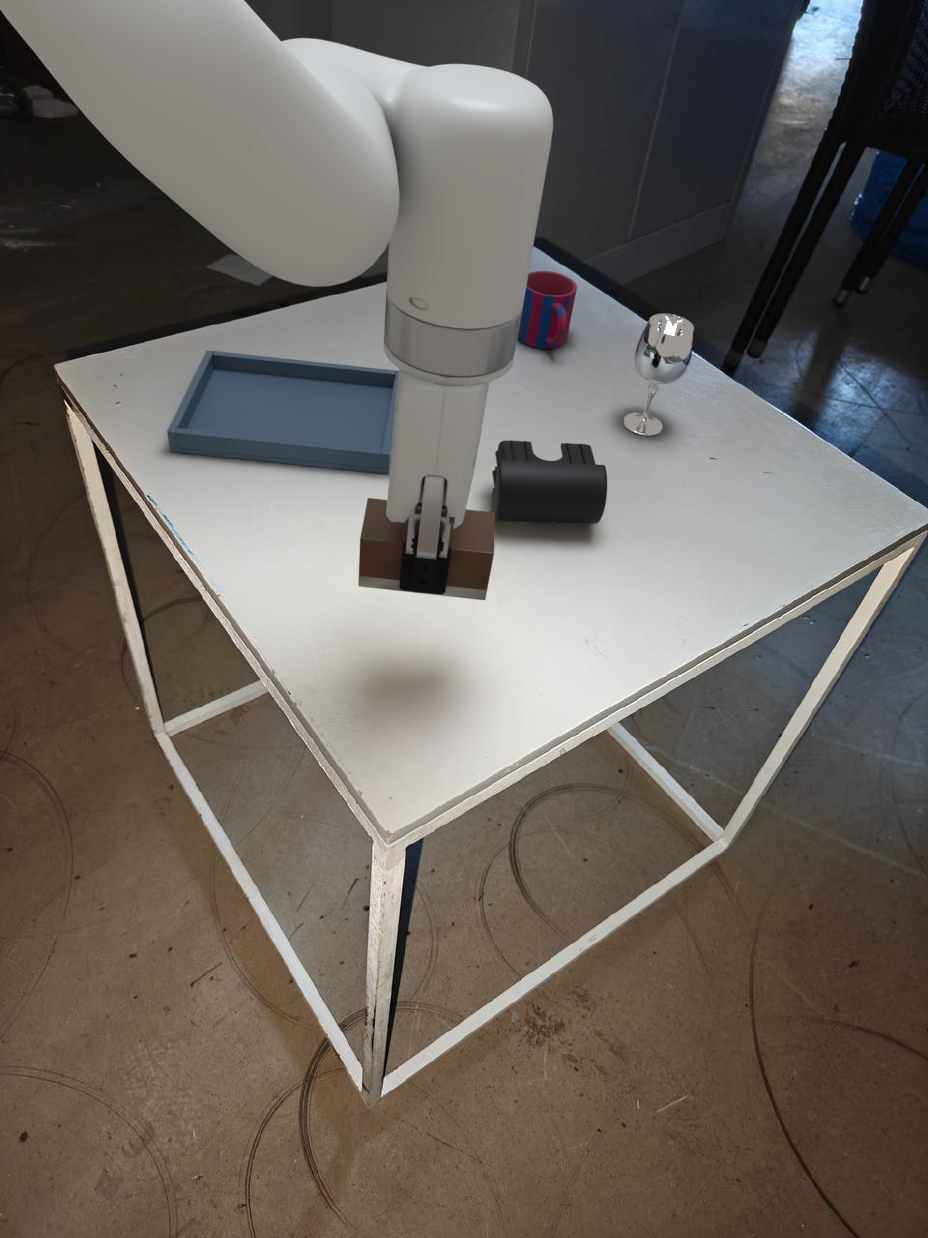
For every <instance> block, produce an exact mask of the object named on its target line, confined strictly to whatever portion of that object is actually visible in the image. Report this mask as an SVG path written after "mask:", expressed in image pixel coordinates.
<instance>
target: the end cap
mask: <svg viewBox="0 0 928 1238" xmlns="http://www.w3.org/2000/svg"><path fill="white" fill-rule="evenodd" d="M559 447H560V451H561V456H562V457H560V458H558V459H555V460H548V459H543V458H540V457H539V456H537V455H536V454H535V453H534V450H533V444H532V441H529V440H528V441H527V440H512V439H511V440H507V439H506V440H502V441H500V442H499V443H498V445H497V450H496V451H495V453H494V455H495V462H496V466H494V469H493V470H492V472H491V474H492V481H493V482H492V483H493V487H492V492H491V497H492V499H491V507H490V512H494V513H495V521H497V522H512V523H513V522H514V523H515V522H516V523H542V524H566V525H567V524H571V525H591V524H592V525H596V524H598V523H600V522H601V520H602V518H603V515H604V512H605V509H606V504H607V497H608V472H607V466H606V465H605V464H596V460H595V457H594V453H593V448H592V446H591V445H589V444H586V443H570V442H561V443H560V446H559Z"/></svg>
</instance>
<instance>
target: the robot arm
mask: <svg viewBox="0 0 928 1238" xmlns="http://www.w3.org/2000/svg"><path fill="white" fill-rule="evenodd" d="M0 11H1V13H2V14H3V15H4V17H5V18H6V20H7V21H8V22H9V23H10V25H11V26H12V27H13V28H14V29H15V31H16V32H17V33H18V34H19V36H21V38H22V39H23V41H24V42H25V43H26V44H27V45H28V46H29V47H30V49H31V50H32V51H33V52H34V53H35V55H36V56H37V57H38V59H39V60H40V61H41V62H42V64H43V65H44V67H45V68H46V69H47V70H48V71H49V73H50V74H51V75H52V77H53V78H54V79H55V81H57V83H58V84H59V86H60V87H61V88H62V89H63V90H64V92H65V94H67V95H68V97H69V98H70V99H71V100H72V101H73V103H74V104H75V106H77V108H78V109H79V110H80V111H81V112H82V114H83V115H84V116H85V117H86V118H87V119H88V120H89V122H90V123H91V124H92V125H93V126H94V127H95V128H96V129H97V130H98V131H99V133H101V135H102V136H103V137H104V138H105V139H106V140H107V141H108V142H109V143H110V144H111V146H113V147H114V148H115V149H116V150H117V151H118V152H119V153H120V154H121V155H122V156H123V158H125V159H126V160H127V161H128V162H129V163H130V164H131V165H132V166H133V167H134V168H136V170H138V171H139V172H140V173H141V174H142V175H143V176H144V177H145V178H146V179H147V180H148V181H150V182H151V183H152V184H153V185H154V186H156V187H157V188H158V189H159V190H161V191H162V192H163V193H164V194H165V195H166V196H167V197H168V198H170V200H172V201H173V202H174V203H175V204H177V205H178V206H179V207H180V208H182V209H183V210H184V211H185V212H186V213H187V214H188V215H189V216H190V217H192V218H193V219H194V220H195V221H197V222H198V223H199V224H200V225H201V226H202V227H204V229H206V230H207V231H208V232H209V233H210V234H211V235H213V236H214V237H216V238H217V240H218V241H220V242H222V243H223V244H224V245H225V246H227V248H229V249H230V250H232V251H233V252H234V253H236V255H239V256H240V257H241V258H243V259H244V260H246V261H247V262H249V263H250V264H251V265H252V266H255V267H256V268H258V269H260V270H261V271H264V272H266V273H267V274H269V275H271V276H273V277H275V278H277V279H280V280H283V281H286V282H290V283H292V284H294V285H300V286H305V287H332V286H336V285H340V284H344V283H347V282H349V281H351V280H353V279H355V278H358V277H360V276H361V275H362V274H364V273H365V272H366V271H367V270H369V269H370V268H371V267H372V266H373V265H374V264H375V263H376V262H377V261H378V259H379V258H380V257H381V255H382V254H384V252H385V250H386V249H387V247H388V257H387V258H388V259H387V275H386V292H385V312H384V331H383V351H384V354H385V355H386V357H387V359H388V360H389V361H390V362H391V364H393V365H394V367H396V368H397V369H398V371H399V374H398V381H397V390H396V399H395V410H394V423H393V435H392V449H391V463H390V469H389V476H388V477H389V478H388V488H387V499H386V500H387V510H386V515H387V517H388V518H389V520H390V521H391V522H401V523H405V521H406V520H407V519H408V517H409V521H408V532H407V542H403V549H402V560H401V572H400V584H399V587H400V589H401V590H404V591H403V592H405V591H411V592H410V593H414V592H420V593H419V594H423V593H429V594H428V595H432V594H438V595H437V596H441V594H444V593H445V591H446V584H447V577H448V570H449V563H450V556H451V547H448V546H449V538H450V530H451V525H453V529H455V528H457V527H458V526H459V525H461V524H462V523H463V519H464V515H465V510H466V509H467V506H468V500H469V496H470V493H471V487H472V482H473V477H474V473H475V468H476V463H477V457H478V452H479V446H480V442H481V436H482V430H483V423H484V417H485V412H486V406H487V399H488V393H489V387H490V382H493V381H495V380H498V379H500V378H502V377H503V376H505V375H506V374H507V373H508V372H509V370H511V369H512V366H513V364H514V361H515V355H516V348H517V343H518V339H517V338H518V332H519V326H520V320H521V315H522V308H523V303H524V297H525V291H526V286H527V280H528V274H529V273H530V267H531V262H532V261H531V260H532V256H533V251H534V250H533V248H534V243H535V237H536V231H537V226H538V221H539V216H540V209H541V205H542V198H543V193H544V186H545V180H546V176H547V174H546V173H547V171H548V170H547V169H548V164H549V158H550V152H551V147H552V139H553V132H554V116H553V110H552V106H551V104H550V100H549V99H548V97H547V95H546V94H545V93H544V92H543V90H542V89H540V87H539V86H538V85H536V84H535V83H533V82H531V81H530V80H528V79H526V78H523V77H522V76H520V75H518V74H515V73H513V72H509V71H506V70H502V69H499V68H495V67H489V66H484V65H477V64H468V63H446V64H436V65H432V66H425V65H421V64H415V63H411V62H407V61H403V60H399V59H396V58H391V57H388V56H383V55H379V54H376V53H373V52H369V51H365V50H362V49H359V48H356V47H353V46H349V45H346V44H342V43H339V42H334V41H330V40H326V39H325V40H324V39H320V38H308V37H300V38H299V37H298V38H289V39H286V40H282V41H281V40H280V39H279V37H278V36H277V35H276V34H275V33H274V32H273V31H272V30H271V29H270V27H268V25H267V24H266V23H265V21H263V20H262V18H261V17H259V15H258V14H257V13H256V12H255V11H254V10H253V9H252V8H251V6H250V5H249V3H247V1H246V0H0ZM417 504H422V506H417ZM442 507H447V509H442ZM417 522H420V528H419V534H416V524H417ZM440 524H441V525H443V527H442V536H441V537H439V528H440ZM415 534H416V536H415Z"/></svg>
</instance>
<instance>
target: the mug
mask: <svg viewBox="0 0 928 1238" xmlns="http://www.w3.org/2000/svg"><path fill="white" fill-rule="evenodd" d="M577 290H578V286H577V284H576V282H575V281H574V280H573V279H572V278H570V277H569V276H567V275H564V274H562V273H559V272H555V271H550V270H535V271H531V272H529V274H528V280H527V286H526V291H525V297H524V303H523V308H522V315H521V320H520V326H519V332H518V338H517V341H519V342H521V343H522V344H523V345H526V346H529V347H532V348H535V349H541V350H549V349H550V350H551V349H552V350H553V349H556V348H560V347H561V346H563V345H564V344H565V343H566V342H567V340H568V335H569V330H570V324H571V321H572V320H571V319H572V314H573V310H574V306H575V299H576V295H577Z"/></svg>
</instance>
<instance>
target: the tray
mask: <svg viewBox="0 0 928 1238" xmlns="http://www.w3.org/2000/svg"><path fill="white" fill-rule="evenodd" d="M398 374H399V370H395V369H387V368H386V369H385V368H376V367H369V366H368V367H367V366H358V365H350V364H349V365H348V364H339V363H329V362H321V361H310V360H301V359H292V358H283V357H273V356H265V355H255V354H247V353H246V354H245V353H236V352H227V351H220V350H219V351H218V350H210V349H209V350H208V349H207V350H205V353H204V355H203V357H202V359H201V361H200V362H199V365H198V367H197V369H196V371H195V373H194V375H193V378H192V380H191V381H190V383H189V386H188V387H187V390H186V391H185V394H184V396H183V398H182V400H181V401H180V404H179V405H178V408H177V410H176V412H175V414H174V417H173V418H172V420H171V422H170V425H169V426H168V429H167V431H166V433H167V438H168V444H169V451H170V452H171V453H178V454H187V455H188V454H189V455H198V456H208V457H218V458H227V459H228V458H229V459H236V460H237V459H238V460H247V461H248V460H249V461H258V462H267V463H277V464H287V465H295V466H305V467H316V468H325V469H326V468H327V469H335V470H336V469H337V470H344V471H345V470H346V471H355V472H364V473H375V474H384V475H385V474H386V475H390V463H391V449H392V435H393V423H394V410H395V399H396V390H397V381H398Z"/></svg>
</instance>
